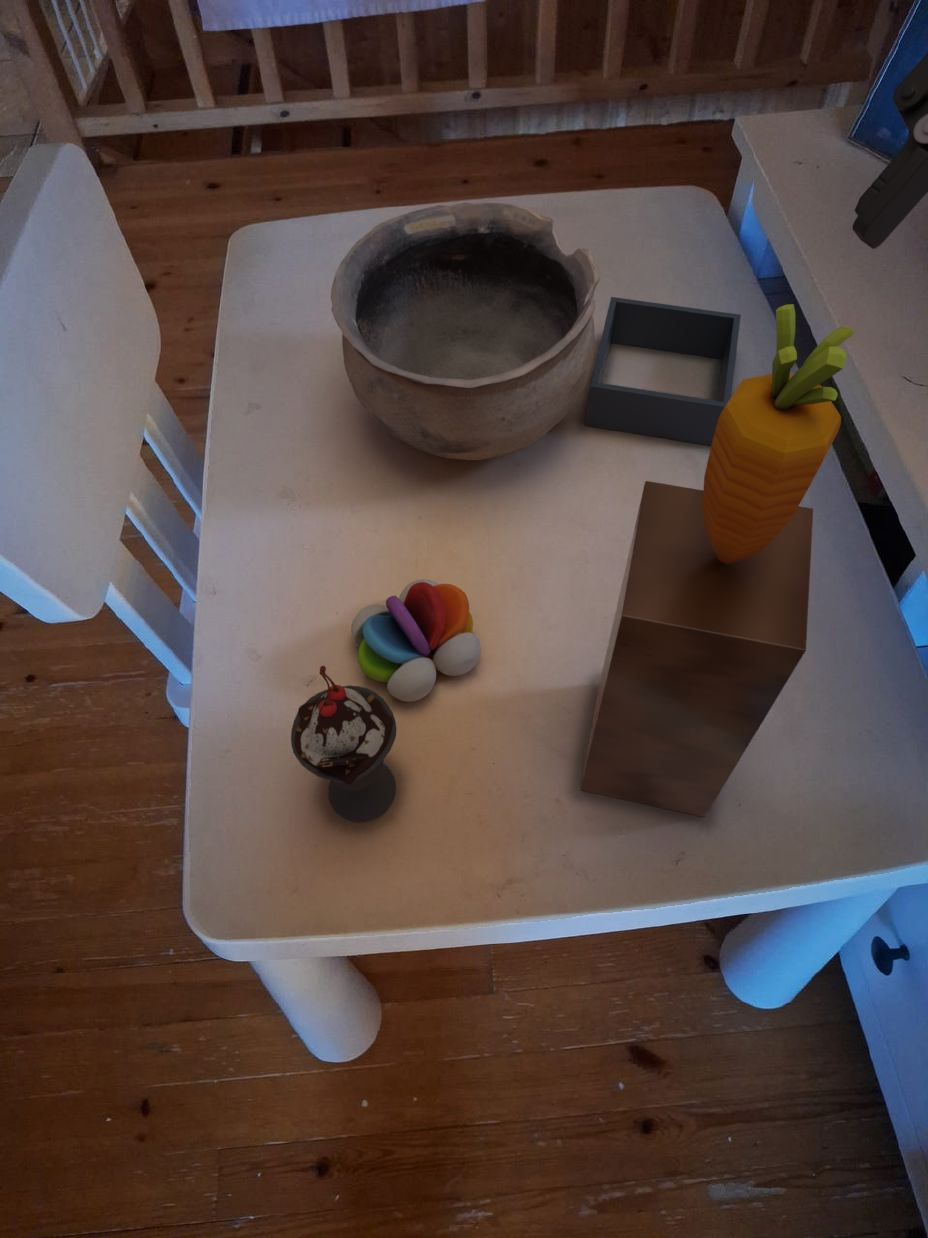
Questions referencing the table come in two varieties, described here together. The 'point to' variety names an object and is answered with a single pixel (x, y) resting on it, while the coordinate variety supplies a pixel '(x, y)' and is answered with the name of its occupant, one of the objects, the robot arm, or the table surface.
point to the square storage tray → (668, 333)
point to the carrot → (770, 444)
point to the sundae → (348, 748)
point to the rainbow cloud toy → (416, 638)
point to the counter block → (693, 654)
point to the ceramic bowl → (466, 327)
